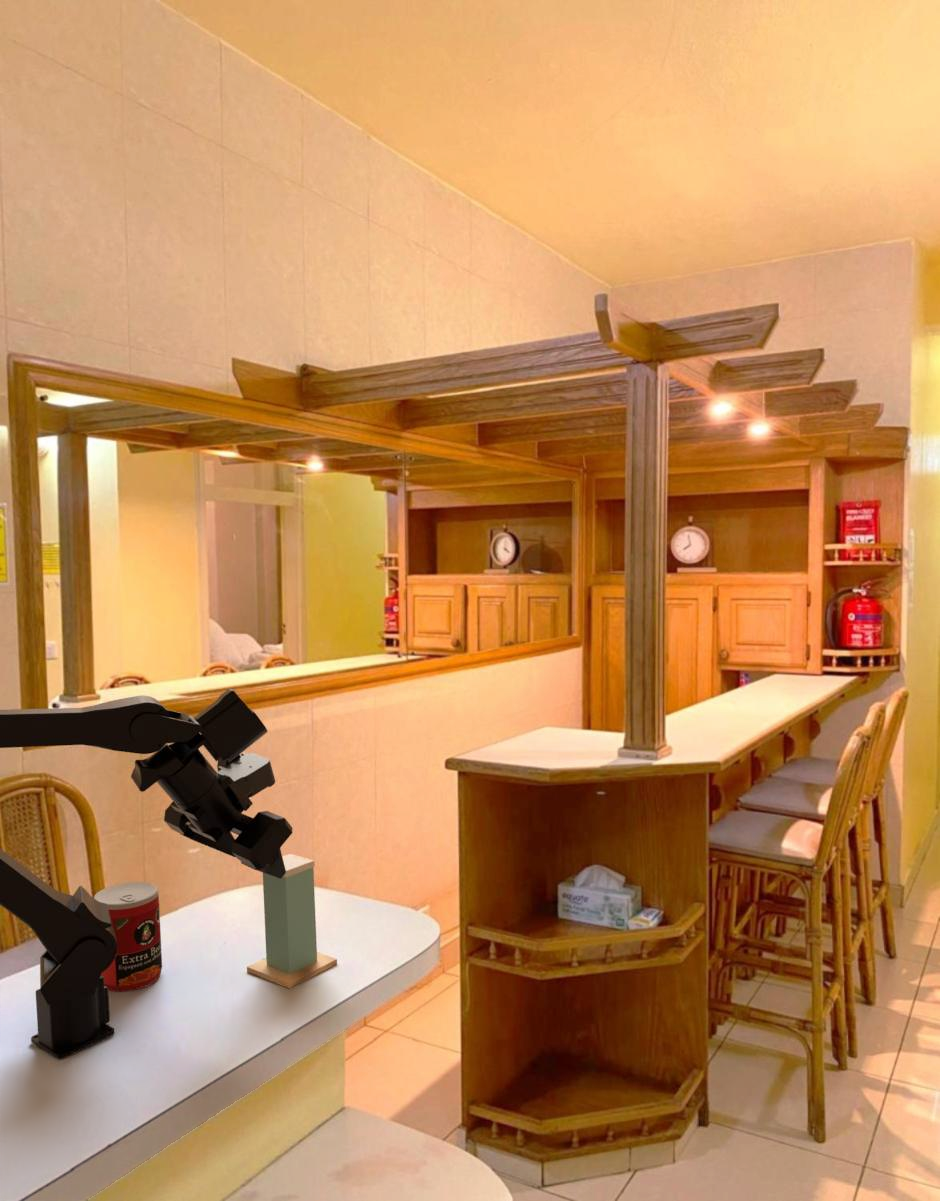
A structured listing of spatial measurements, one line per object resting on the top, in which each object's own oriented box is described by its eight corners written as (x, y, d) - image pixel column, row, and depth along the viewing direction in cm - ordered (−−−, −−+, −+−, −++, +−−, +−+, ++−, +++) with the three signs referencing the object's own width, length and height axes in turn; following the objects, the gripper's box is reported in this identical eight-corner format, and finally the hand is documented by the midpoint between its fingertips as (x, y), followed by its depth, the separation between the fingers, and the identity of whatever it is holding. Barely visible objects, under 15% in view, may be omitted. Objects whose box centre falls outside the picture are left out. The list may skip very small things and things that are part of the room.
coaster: (289, 988, 112) (289, 983, 111) (247, 971, 116) (246, 966, 116) (337, 963, 118) (336, 959, 118) (295, 948, 123) (294, 944, 123)
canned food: (121, 998, 110) (116, 909, 110) (85, 981, 115) (80, 895, 114) (175, 974, 116) (171, 889, 116) (139, 958, 121) (135, 877, 121)
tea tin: (289, 974, 114) (285, 871, 113) (265, 964, 117) (261, 863, 116) (318, 961, 117) (314, 860, 117) (294, 951, 120) (290, 853, 120)
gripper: (289, 750, 105) (348, 833, 114) (196, 720, 117) (256, 797, 126) (223, 827, 99) (291, 908, 108) (132, 786, 111) (200, 862, 120)
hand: (259, 864), depth 115 cm, fingers open, 9 cm apart
